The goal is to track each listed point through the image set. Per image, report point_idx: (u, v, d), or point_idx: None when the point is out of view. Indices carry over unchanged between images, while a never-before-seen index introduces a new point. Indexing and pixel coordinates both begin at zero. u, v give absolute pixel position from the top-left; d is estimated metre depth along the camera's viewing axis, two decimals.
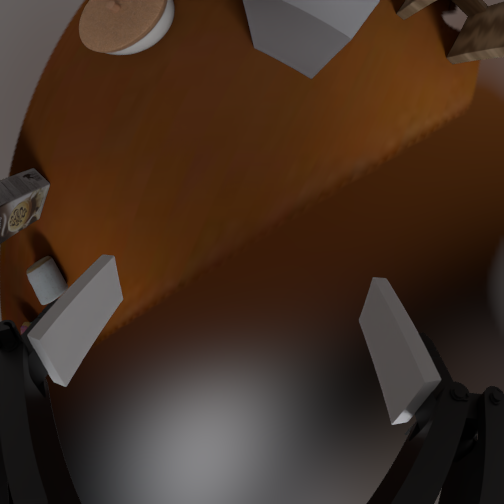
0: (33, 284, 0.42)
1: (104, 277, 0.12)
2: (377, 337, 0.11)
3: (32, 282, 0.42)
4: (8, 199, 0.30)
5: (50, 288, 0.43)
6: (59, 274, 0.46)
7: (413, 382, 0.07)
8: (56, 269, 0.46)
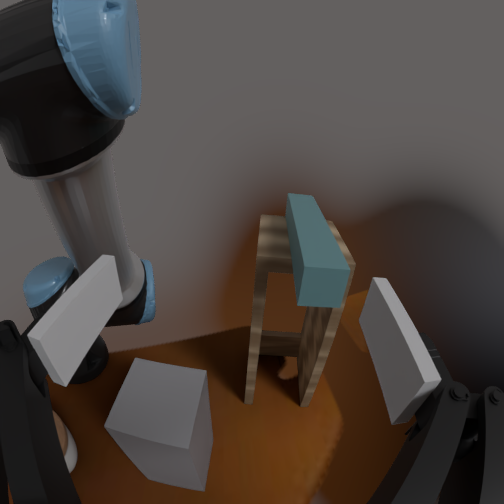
0: None
1: (104, 277, 0.12)
2: (377, 337, 0.11)
3: None
4: None
5: None
6: None
7: (413, 382, 0.07)
8: None
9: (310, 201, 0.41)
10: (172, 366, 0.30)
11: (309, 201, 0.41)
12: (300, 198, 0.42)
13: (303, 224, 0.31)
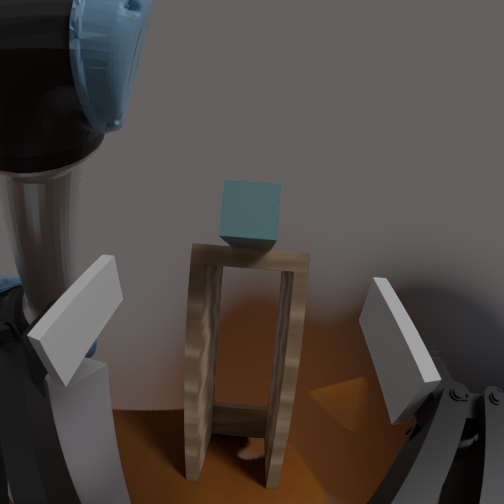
0: None
1: (104, 277, 0.12)
2: (377, 337, 0.11)
3: None
4: None
5: None
6: None
7: (413, 382, 0.07)
8: None
9: None
10: None
11: None
12: None
13: None
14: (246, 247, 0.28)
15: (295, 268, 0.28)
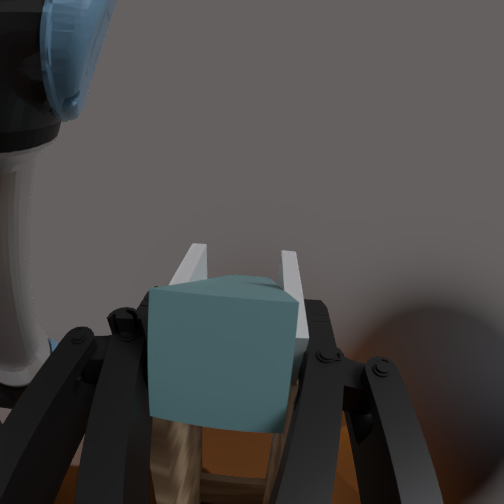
0: None
1: (201, 264, 0.14)
2: None
3: None
4: None
5: None
6: None
7: None
8: None
9: None
10: None
11: None
12: (247, 276, 0.28)
13: (227, 279, 0.17)
14: None
15: None
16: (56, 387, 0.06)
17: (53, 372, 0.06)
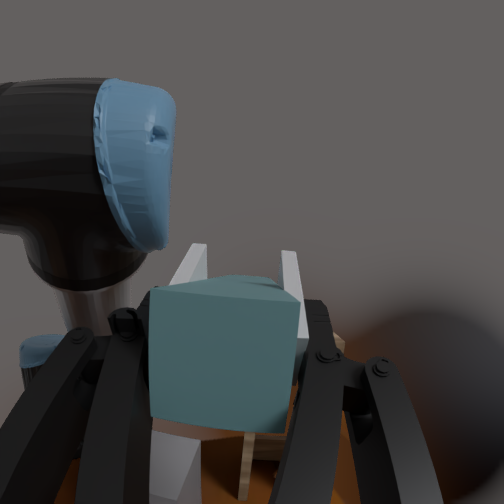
0: None
1: (201, 264, 0.14)
2: None
3: None
4: None
5: None
6: None
7: None
8: None
9: None
10: (165, 434, 0.25)
11: None
12: (247, 276, 0.28)
13: (227, 279, 0.17)
14: None
15: None
16: (56, 387, 0.06)
17: (53, 372, 0.06)
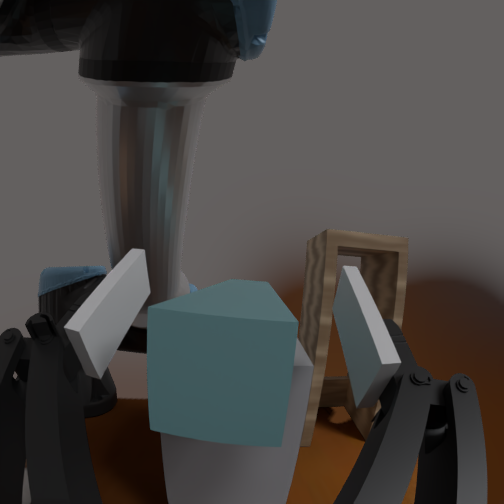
0: None
1: (135, 270, 0.13)
2: (345, 324, 0.12)
3: None
4: None
5: None
6: None
7: (373, 364, 0.08)
8: None
9: None
10: None
11: None
12: (246, 281, 0.28)
13: (226, 288, 0.17)
14: None
15: (400, 249, 0.34)
16: None
17: None
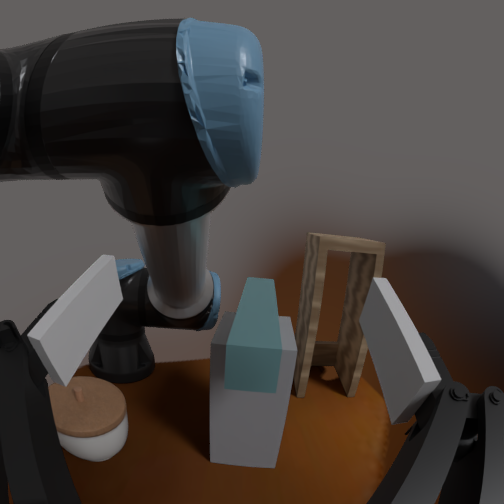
0: None
1: (104, 277, 0.12)
2: (377, 337, 0.11)
3: None
4: None
5: None
6: None
7: (413, 382, 0.07)
8: None
9: (268, 284, 0.39)
10: None
11: (267, 284, 0.39)
12: (258, 281, 0.40)
13: (248, 304, 0.29)
14: None
15: (377, 252, 0.44)
16: None
17: None
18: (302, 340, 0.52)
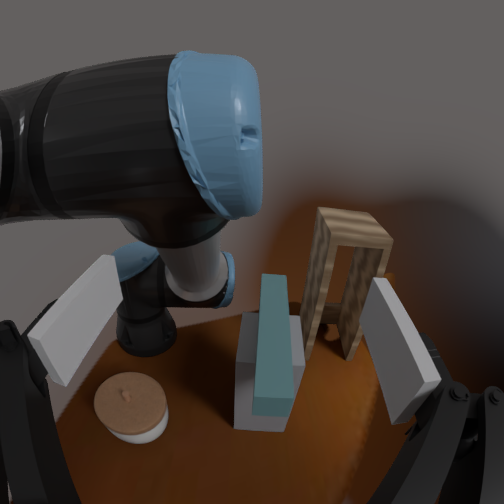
0: None
1: (104, 277, 0.12)
2: (377, 338, 0.11)
3: None
4: None
5: None
6: None
7: (413, 382, 0.07)
8: None
9: (281, 287, 0.43)
10: None
11: (280, 287, 0.43)
12: (272, 282, 0.44)
13: (266, 331, 0.34)
14: None
15: (385, 247, 0.46)
16: None
17: None
18: (309, 312, 0.59)
